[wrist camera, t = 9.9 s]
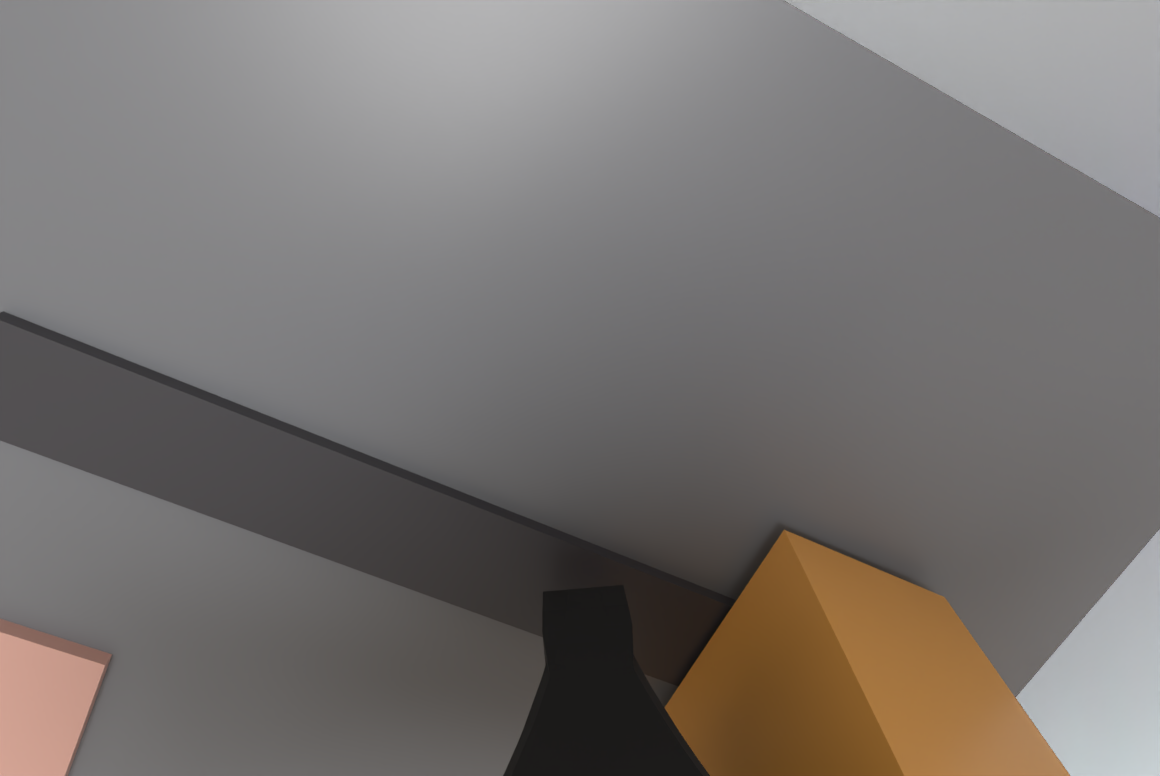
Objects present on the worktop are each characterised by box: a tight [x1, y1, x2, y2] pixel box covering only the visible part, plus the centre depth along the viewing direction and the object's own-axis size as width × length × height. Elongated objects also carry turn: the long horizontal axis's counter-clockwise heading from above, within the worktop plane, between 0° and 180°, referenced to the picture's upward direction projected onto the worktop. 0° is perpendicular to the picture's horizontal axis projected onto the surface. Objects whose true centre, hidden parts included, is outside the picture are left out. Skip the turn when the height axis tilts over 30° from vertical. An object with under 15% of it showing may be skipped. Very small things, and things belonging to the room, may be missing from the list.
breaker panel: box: [0, 0, 1160, 776], centre depth 12 cm, size 18×14×3 cm
